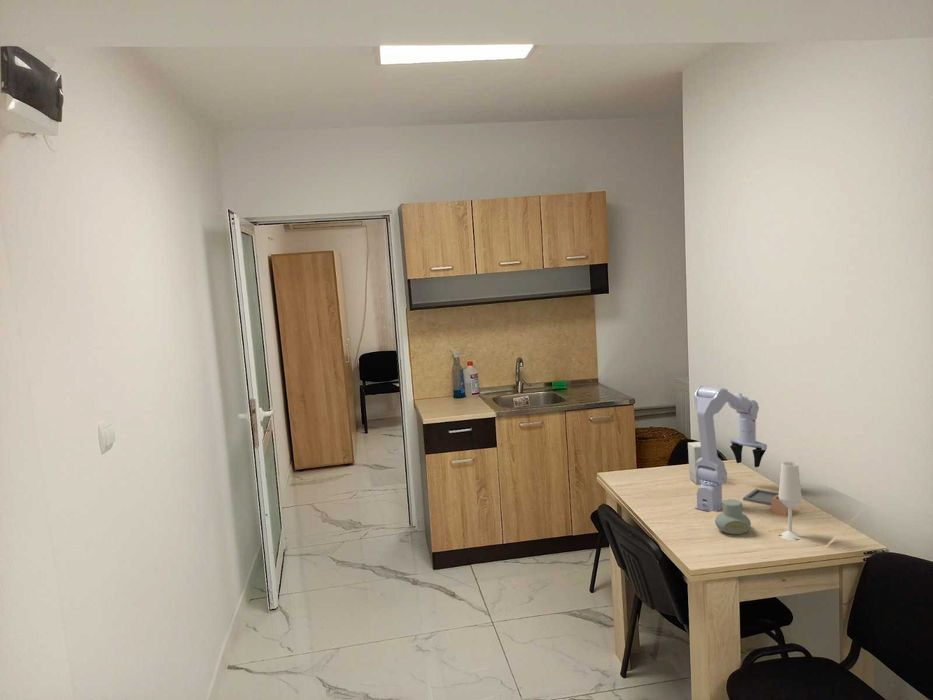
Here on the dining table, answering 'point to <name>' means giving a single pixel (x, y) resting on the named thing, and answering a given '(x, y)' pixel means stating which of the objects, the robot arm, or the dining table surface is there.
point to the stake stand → (780, 514)
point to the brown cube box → (778, 506)
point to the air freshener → (732, 518)
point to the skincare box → (694, 459)
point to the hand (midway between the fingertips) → (747, 464)
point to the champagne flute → (790, 494)
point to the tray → (760, 496)
